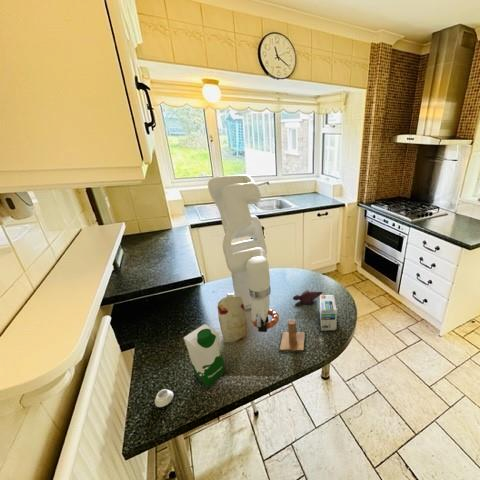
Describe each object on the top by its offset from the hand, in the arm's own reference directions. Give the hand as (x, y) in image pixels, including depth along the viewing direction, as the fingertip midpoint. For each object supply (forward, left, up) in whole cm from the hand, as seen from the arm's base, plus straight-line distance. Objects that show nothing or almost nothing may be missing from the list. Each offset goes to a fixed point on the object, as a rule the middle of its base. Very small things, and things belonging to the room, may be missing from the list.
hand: (263, 327), depth 100 cm
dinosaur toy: (+16, +23, -7) cm, 29 cm away
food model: (-12, 0, -7) cm, 13 cm away
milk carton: (-16, -16, -7) cm, 23 cm away
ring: (0, +4, +1) cm, 4 cm away
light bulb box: (+25, +10, -7) cm, 28 cm away
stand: (+11, -2, -6) cm, 13 cm away
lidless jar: (-27, -25, -7) cm, 37 cm away
